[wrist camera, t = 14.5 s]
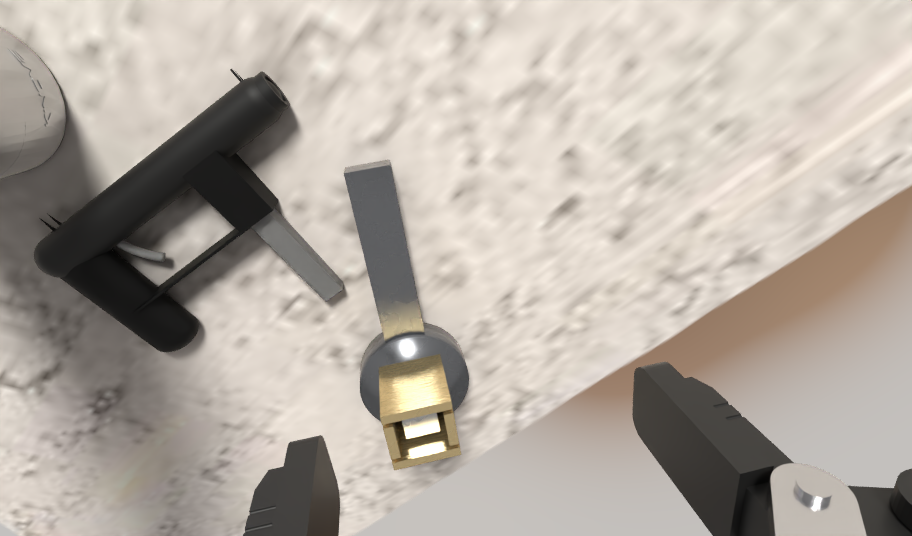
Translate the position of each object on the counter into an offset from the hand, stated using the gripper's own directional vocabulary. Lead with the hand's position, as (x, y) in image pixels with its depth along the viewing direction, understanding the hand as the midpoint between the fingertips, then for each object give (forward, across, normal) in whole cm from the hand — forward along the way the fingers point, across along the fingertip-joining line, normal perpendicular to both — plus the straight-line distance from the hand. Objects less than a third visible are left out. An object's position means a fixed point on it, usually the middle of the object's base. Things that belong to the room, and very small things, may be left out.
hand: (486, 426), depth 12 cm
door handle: (+27, +13, +2) cm, 30 cm away
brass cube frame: (+23, +2, +16) cm, 28 cm away
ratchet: (+26, +2, +9) cm, 27 cm away
